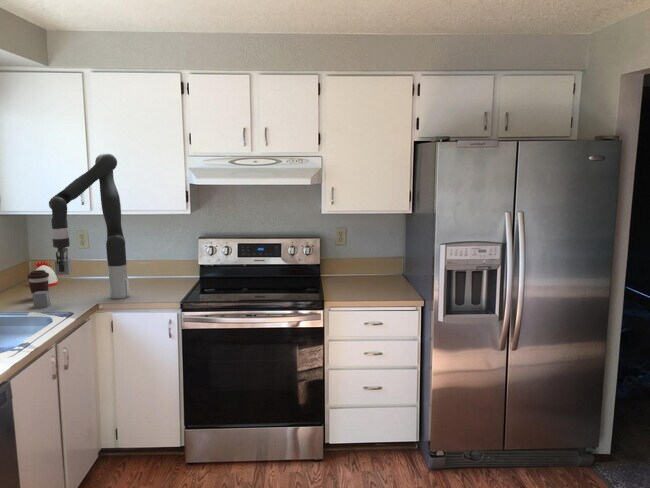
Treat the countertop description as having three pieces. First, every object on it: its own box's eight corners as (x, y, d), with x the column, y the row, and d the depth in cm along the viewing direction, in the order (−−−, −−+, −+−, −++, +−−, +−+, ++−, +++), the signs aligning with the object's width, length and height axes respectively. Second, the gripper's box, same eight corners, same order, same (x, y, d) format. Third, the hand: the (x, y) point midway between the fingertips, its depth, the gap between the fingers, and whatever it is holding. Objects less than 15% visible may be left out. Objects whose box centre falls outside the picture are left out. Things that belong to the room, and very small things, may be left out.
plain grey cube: (50, 304, 268) (49, 290, 267) (47, 307, 262) (46, 293, 261) (37, 305, 266) (36, 291, 265) (34, 308, 261) (32, 294, 260)
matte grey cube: (71, 272, 268) (70, 258, 267) (68, 274, 262) (67, 260, 261) (58, 272, 267) (57, 259, 266) (55, 275, 261) (54, 261, 260)
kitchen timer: (32, 283, 316) (30, 259, 314) (58, 281, 322) (56, 257, 319) (30, 288, 303) (28, 262, 301) (57, 286, 309) (55, 260, 307)
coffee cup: (27, 302, 272) (24, 273, 270) (32, 297, 282) (29, 270, 280) (48, 300, 275) (46, 272, 273) (52, 296, 285) (50, 268, 282)
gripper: (65, 238, 256) (68, 273, 258) (72, 235, 270) (74, 267, 272) (48, 239, 254) (51, 273, 256) (56, 235, 268) (58, 268, 270)
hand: (63, 270), depth 264 cm, fingers closed on matte grey cube, 6 cm apart
